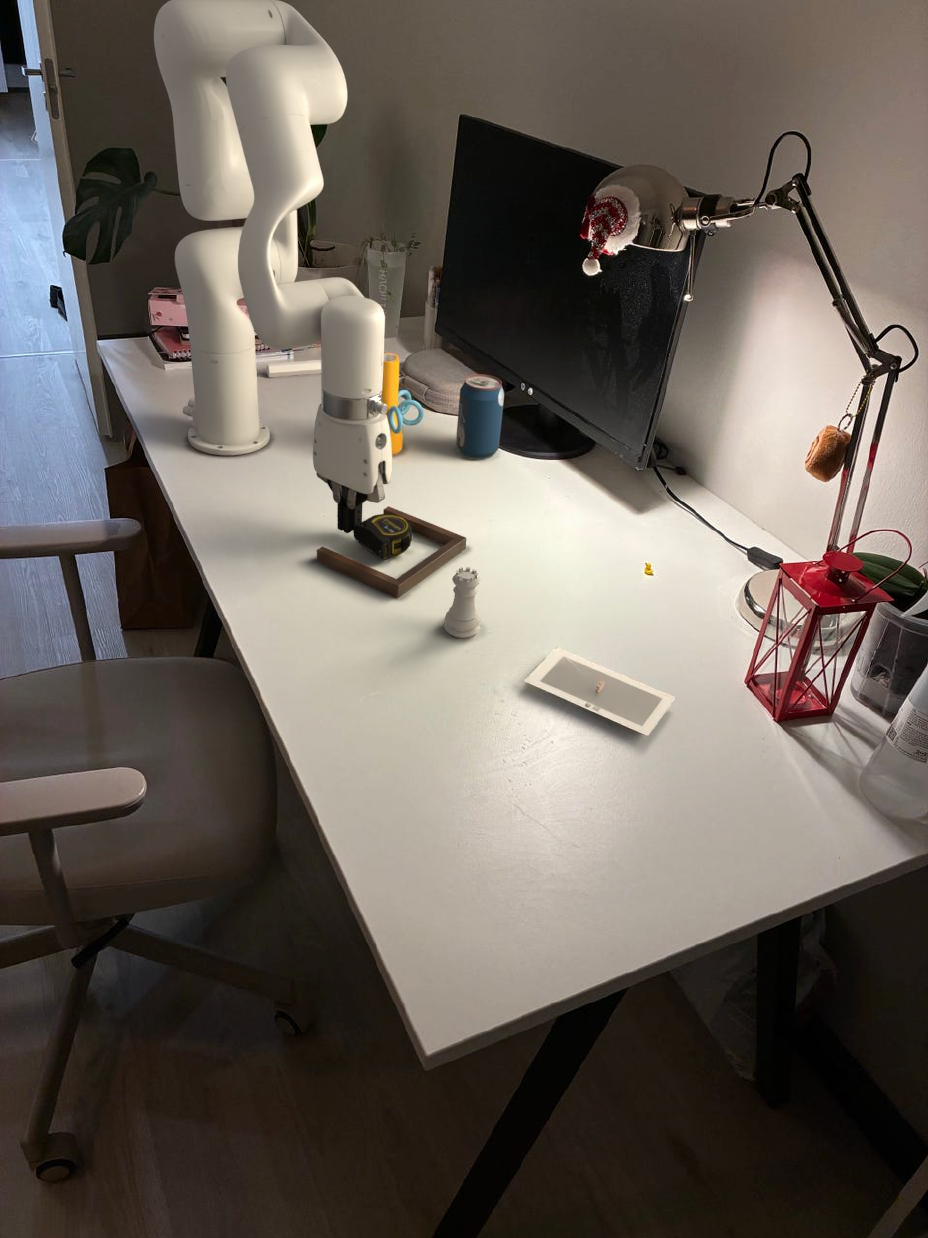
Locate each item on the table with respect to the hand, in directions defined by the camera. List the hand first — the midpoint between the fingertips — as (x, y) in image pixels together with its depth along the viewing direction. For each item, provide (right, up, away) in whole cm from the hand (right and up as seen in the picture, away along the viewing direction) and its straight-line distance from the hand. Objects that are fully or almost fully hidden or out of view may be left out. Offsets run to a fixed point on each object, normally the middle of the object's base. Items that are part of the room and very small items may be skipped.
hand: (349, 527), depth 131 cm
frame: (+6, -4, -2) cm, 7 cm away
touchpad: (+30, -21, -23) cm, 44 cm away
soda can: (+18, +14, +25) cm, 34 cm away
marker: (-13, +33, +47) cm, 59 cm away
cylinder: (+3, +15, +24) cm, 28 cm away
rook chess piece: (+15, -14, -15) cm, 25 cm away
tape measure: (+5, -3, -2) cm, 6 cm away
